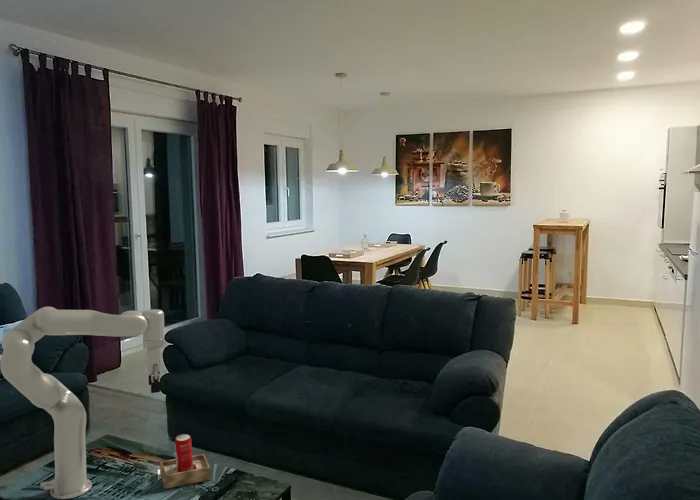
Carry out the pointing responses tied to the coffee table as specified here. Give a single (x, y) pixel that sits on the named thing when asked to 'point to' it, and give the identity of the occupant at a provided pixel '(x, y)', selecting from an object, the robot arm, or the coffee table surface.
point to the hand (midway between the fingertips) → (154, 388)
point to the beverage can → (183, 453)
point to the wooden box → (187, 477)
